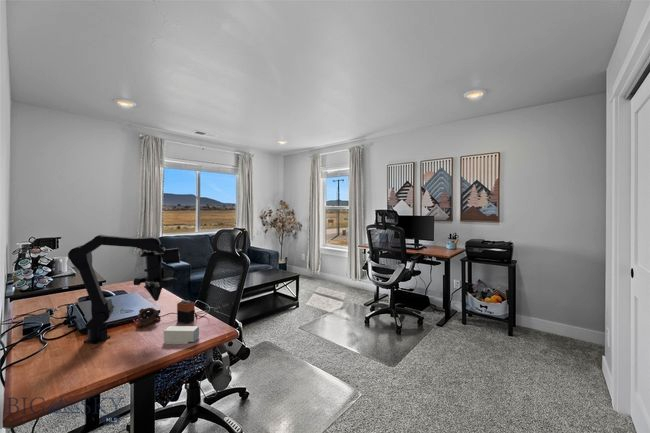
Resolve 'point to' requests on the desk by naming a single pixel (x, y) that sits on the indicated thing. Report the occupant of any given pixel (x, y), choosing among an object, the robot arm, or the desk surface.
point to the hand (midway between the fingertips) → (156, 300)
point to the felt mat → (176, 342)
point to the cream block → (181, 334)
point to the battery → (185, 311)
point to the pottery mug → (144, 314)
